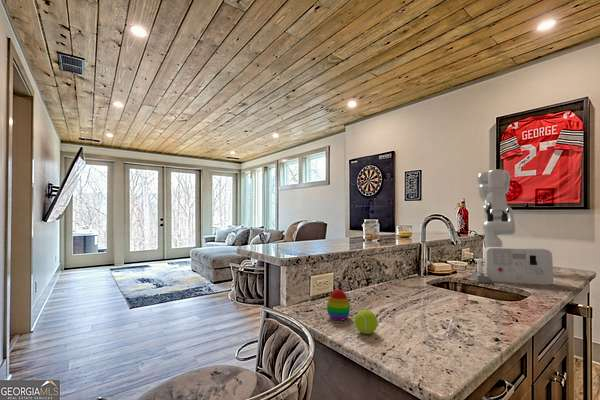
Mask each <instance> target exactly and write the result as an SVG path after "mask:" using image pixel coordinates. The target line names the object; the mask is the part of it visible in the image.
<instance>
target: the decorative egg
mask: <svg viewBox="0 0 600 400" xmlns="http://www.w3.org/2000/svg"><path fill="white" fill-rule="evenodd" d="M350 303H351V302H350V300H349V298H348V295H347V294H346V293H345V292H344V291H343V290H341V289H338V288H337V289H335V290H333V291H332V292H331V293H330V294H329V297H328V298H327V304H326V307H327V308H326V309H327V312H328V316H329V317H330V319H332V320H334V319H336V320H335V321H343V320H342V319H345V320H346V319H347V318H348V317H349V314H350V312H351V306H350Z"/></svg>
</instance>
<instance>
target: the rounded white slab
mask: <svg viewBox="0 0 600 400" xmlns="http://www.w3.org/2000/svg"><path fill="white" fill-rule="evenodd" d="M483 252H484V253H483V254H484V255H483V256H484V265H485V268H484V273H485V274H486V275H488V276H489V282H490V281H491V282H494V283H495V282H497V283H508V284H509V283H512V284H524V283H526V284H527V285H528V284H529V285H543V286H549V285H552V284H553V283H554V267H553V263H554V262H553V253H552V251H550V249H546V248H543V247H542V248H540V247H538V248H537V247H510V246H508V247H506V246H505V247H504V246H502V247H487V248H486V249H485V248H484V251H483Z"/></svg>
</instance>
